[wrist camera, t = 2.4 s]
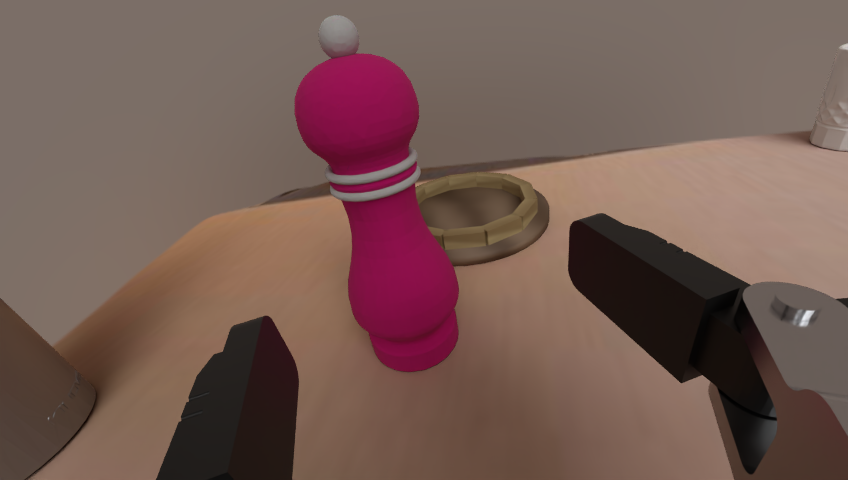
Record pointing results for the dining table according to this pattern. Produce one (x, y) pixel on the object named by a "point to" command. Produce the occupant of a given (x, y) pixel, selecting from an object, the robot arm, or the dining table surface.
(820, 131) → the white cup
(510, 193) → the tray
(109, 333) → the dining table surface
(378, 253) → the pepper mill
